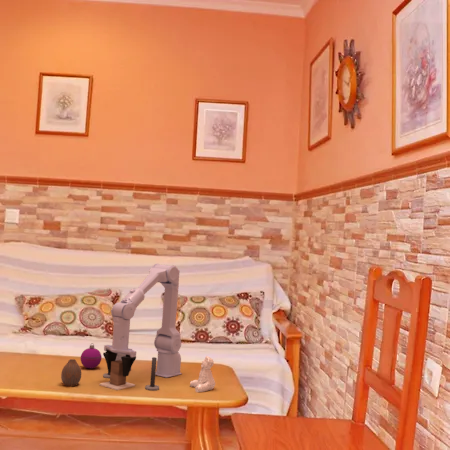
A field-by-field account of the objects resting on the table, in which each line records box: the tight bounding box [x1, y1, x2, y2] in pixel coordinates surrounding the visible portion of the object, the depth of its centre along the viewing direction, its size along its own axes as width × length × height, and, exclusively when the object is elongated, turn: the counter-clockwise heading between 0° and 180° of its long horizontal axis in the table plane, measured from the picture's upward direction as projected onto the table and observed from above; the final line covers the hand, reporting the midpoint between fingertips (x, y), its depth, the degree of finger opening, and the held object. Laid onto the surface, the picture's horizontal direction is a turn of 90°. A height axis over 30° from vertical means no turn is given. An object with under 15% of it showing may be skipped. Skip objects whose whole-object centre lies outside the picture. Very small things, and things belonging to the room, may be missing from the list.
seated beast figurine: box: [189, 355, 216, 393], centre depth 206 cm, size 10×9×12 cm
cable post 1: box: [102, 371, 111, 379], centre depth 214 cm, size 5×5×11 cm
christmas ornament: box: [80, 343, 102, 370], centre depth 226 cm, size 8×8×10 cm
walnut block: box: [109, 360, 127, 386], centre depth 203 cm, size 4×4×8 cm
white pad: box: [99, 380, 136, 391], centre depth 202 cm, size 9×9×1 cm
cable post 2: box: [144, 356, 160, 392], centre depth 201 cm, size 5×5×11 cm
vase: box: [60, 358, 82, 387], centre depth 199 cm, size 7×7×9 cm
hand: (118, 373), depth 202 cm, fingers open, 7 cm apart
